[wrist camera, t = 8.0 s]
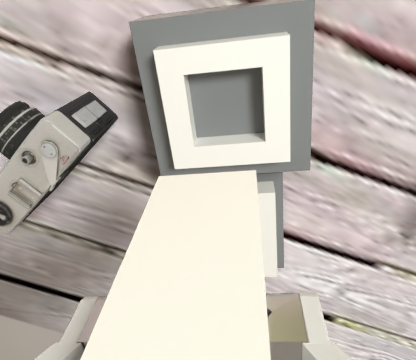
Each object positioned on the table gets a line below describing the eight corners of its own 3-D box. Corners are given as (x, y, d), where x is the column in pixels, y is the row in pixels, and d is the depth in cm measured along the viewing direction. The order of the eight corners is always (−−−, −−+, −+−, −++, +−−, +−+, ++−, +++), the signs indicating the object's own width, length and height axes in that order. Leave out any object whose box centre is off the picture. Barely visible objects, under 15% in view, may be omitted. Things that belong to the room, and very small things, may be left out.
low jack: (159, 177, 40) (153, 191, 38) (281, 170, 39) (284, 183, 36) (178, 267, 47) (174, 284, 44) (283, 264, 45) (285, 282, 43)
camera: (68, 59, 35) (10, 84, 26) (131, 128, 38) (97, 171, 29) (-9, 135, 40) (-79, 177, 31) (52, 191, 43) (4, 243, 34)
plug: (158, 176, 14) (32, 469, 6) (256, 170, 14) (280, 482, 5) (174, 250, 16) (98, 554, 8) (260, 247, 16) (283, 570, 7)
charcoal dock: (147, 15, 32) (120, 24, 25) (302, -4, 30) (320, -1, 23) (172, 153, 39) (157, 190, 32) (300, 143, 37) (314, 180, 30)
